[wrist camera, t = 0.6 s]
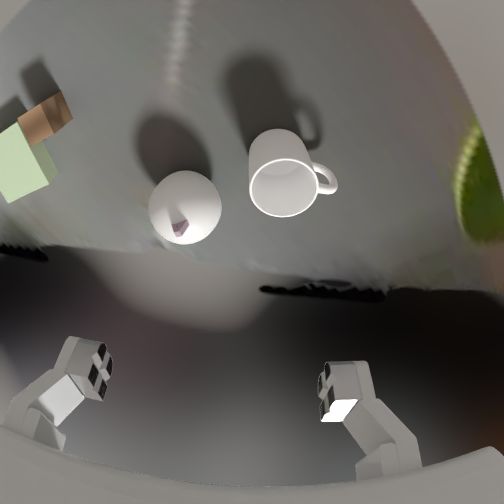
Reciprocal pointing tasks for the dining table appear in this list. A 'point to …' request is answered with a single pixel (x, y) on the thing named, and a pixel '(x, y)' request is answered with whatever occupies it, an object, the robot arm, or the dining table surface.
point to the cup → (284, 174)
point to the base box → (23, 164)
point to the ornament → (184, 207)
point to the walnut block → (45, 119)
